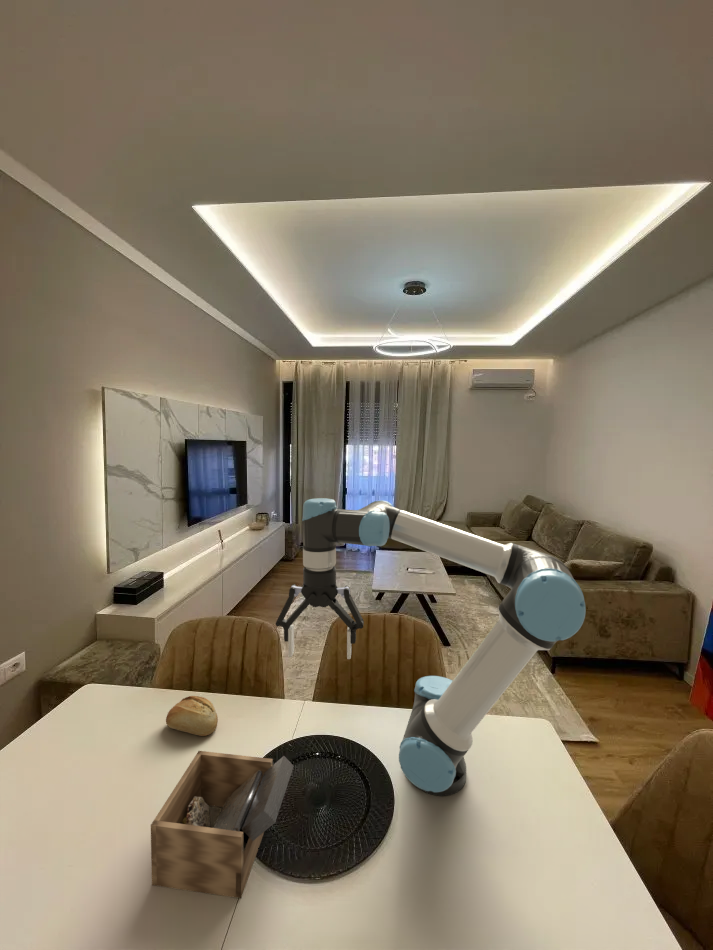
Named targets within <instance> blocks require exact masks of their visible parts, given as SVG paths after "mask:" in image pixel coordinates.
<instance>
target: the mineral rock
mask: <svg viewBox="0 0 713 950" xmlns="http://www.w3.org/2000/svg"><path fill="white" fill-rule="evenodd" d="M209 810H210V806H209V805H208V804H206V803H205V802H204V799H203V798H202V797H196V796H195V797H194V798H193V800H192V801H191V802H190V804H189V806H188V808H187V817H185V818H184V819H183V821H182V824H187V825H194V826H202V827H210V826H211V821H210V819H211V818H210V811H209Z"/></svg>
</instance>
